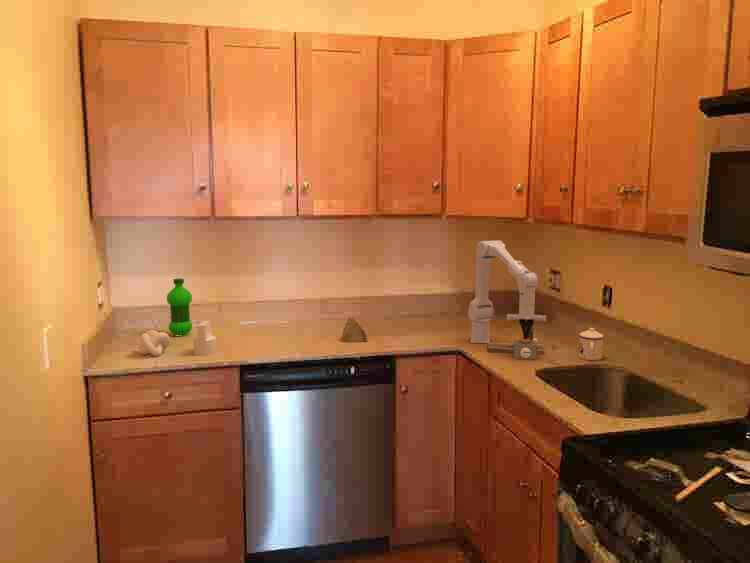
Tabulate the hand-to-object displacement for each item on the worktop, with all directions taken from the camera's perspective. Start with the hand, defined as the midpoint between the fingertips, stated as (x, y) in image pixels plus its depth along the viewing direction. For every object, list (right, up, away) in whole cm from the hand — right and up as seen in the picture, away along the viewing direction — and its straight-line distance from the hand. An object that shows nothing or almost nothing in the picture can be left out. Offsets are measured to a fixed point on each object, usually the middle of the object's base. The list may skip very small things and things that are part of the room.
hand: (525, 338), depth 243 cm
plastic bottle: (-144, -2, +35) cm, 149 cm away
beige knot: (-146, -7, +4) cm, 147 cm away
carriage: (+4, -4, +10) cm, 11 cm away
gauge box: (0, -7, +1) cm, 7 cm away
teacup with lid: (+25, -8, 0) cm, 26 cm away
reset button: (0, -2, 0) cm, 2 cm away
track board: (-1, -6, +11) cm, 12 cm away
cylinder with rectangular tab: (-126, -6, +6) cm, 126 cm away
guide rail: (-1, -4, +11) cm, 12 cm away
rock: (-67, -4, +25) cm, 72 cm away
